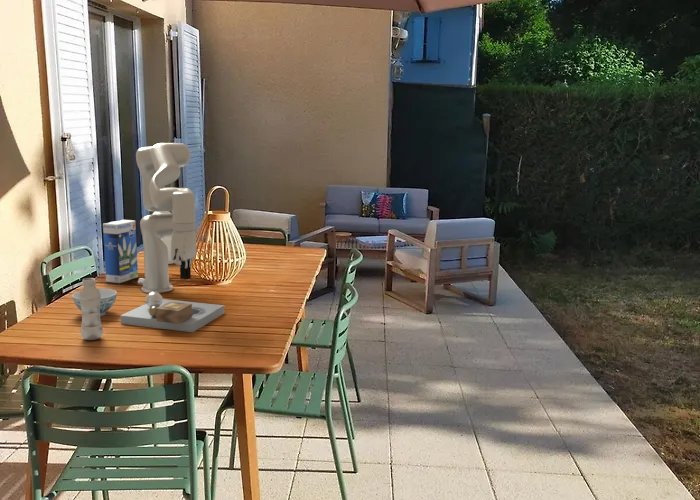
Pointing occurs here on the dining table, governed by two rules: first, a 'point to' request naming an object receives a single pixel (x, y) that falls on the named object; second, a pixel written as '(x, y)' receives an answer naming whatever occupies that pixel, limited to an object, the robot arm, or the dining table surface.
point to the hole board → (199, 318)
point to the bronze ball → (153, 311)
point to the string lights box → (120, 251)
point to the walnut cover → (174, 312)
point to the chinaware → (106, 300)
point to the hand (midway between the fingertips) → (185, 278)
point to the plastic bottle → (90, 310)
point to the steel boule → (153, 299)
